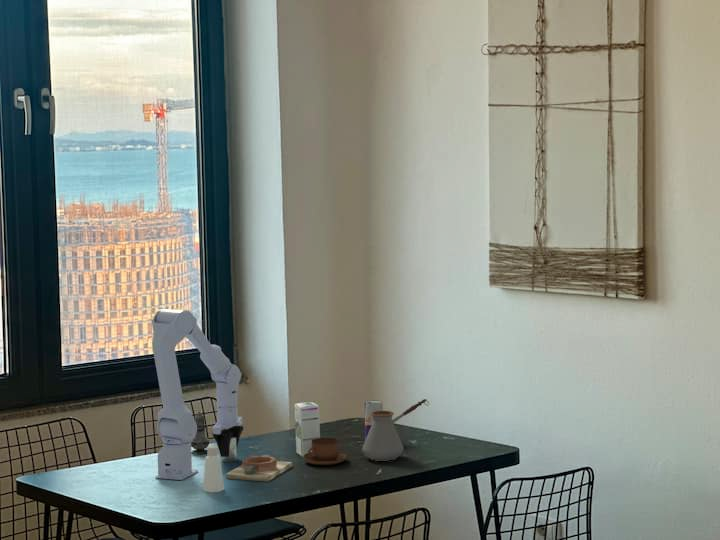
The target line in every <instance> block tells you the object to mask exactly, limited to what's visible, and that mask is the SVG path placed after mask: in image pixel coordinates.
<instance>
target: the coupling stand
mask: <svg viewBox="0 0 720 540" xmlns="http://www.w3.org/2000/svg"><path fill="white" fill-rule="evenodd" d="M241 461H242V462H241V465H239V466H237V467H236V468H235V467H234V469H232V470H230V471H228V472H226V473H225V479H231V480H244V481H256V482H257V481H258V482H270V481H271V480H273V479H274V478H276V477H278V476H280V475H281V474H282V473H284V472H286V471H287V470H289V469H290V468H292V467H293V462H292V461H281V460H280V461H279V460H277V459H276V458H275V457H274V456H270V455H269V454H261V455H254V456H248V457H246V458H244V459H242V460H241Z"/></svg>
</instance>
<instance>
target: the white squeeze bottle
mask: <svg viewBox="0 0 720 540" xmlns="http://www.w3.org/2000/svg"><path fill="white" fill-rule="evenodd" d="M206 450H207V453H208V454H207V456H205V457H204V459H205V460H204V461H205V462H204V473H203V487H202V488H203V491H204V492H205V493H210V494H211V493H212V494H213V493H220V492H222V491H224V490H225V485H224V478H223V470H222V464H221V463H222V461H221V456H220V454H219V448H218V445H208V447H207V448H206Z"/></svg>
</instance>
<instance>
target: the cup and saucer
mask: <svg viewBox="0 0 720 540" xmlns="http://www.w3.org/2000/svg"><path fill="white" fill-rule="evenodd" d="M311 450H312V452H311ZM310 452H311V453H310ZM347 457H348V455H347V453H345V452H343V451H342V452H341V451H339V439H337V438H332V437H320V438H317V439H314V440H312V447H311V448H310V449H309V451H308V453H307V454H305V455H304V456H303V457H302V458H303V460H304V461H306V463H308V464H311V465H317V466H318V465H319V466H331V465H336V464H339V463H342V462H344V461H346V459H347Z"/></svg>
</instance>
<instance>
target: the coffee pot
mask: <svg viewBox="0 0 720 540" xmlns="http://www.w3.org/2000/svg"><path fill="white" fill-rule="evenodd" d="M426 402H427V403H428V404H426ZM422 404H425V406H429V405H430V403H429V401H428V400H427V399H426V398H424V399H422V400H421V401H417V403H416V404H414V405H411V406H410V407H408V409H406V410H404V412H403V411H402V413H401V414H399V415H398V416H396V417H394V418H393V416H394V415H395V413H394V412H393V411H391V410H383V411H375V412H372V413H371V415H372V417H373V423H372V425H371V428H370V430H369V433H368V435H367V438H366V440H364V442H363V445H362V452H363V454H364V456H366V458H368V459H369V458H370V459H371V460H370V459H369V460H370V461H372V460H377V461H387V460H393V459H396V458H397V459H398V457H400V456H401V455H402V453H403V451H404V445H403V442H402V440H401V439H400V436H399V434H398V432H397V429H396V427H395V424H394V423H396V422H397V421H398V420H400V419H401V418H403V417H406V416H407V415H408V414H410V413H412V412H413V411H415V410H416V409H417V408H419V407H420V406H422ZM397 459H396V460H397ZM377 461H376V462H377Z"/></svg>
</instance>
